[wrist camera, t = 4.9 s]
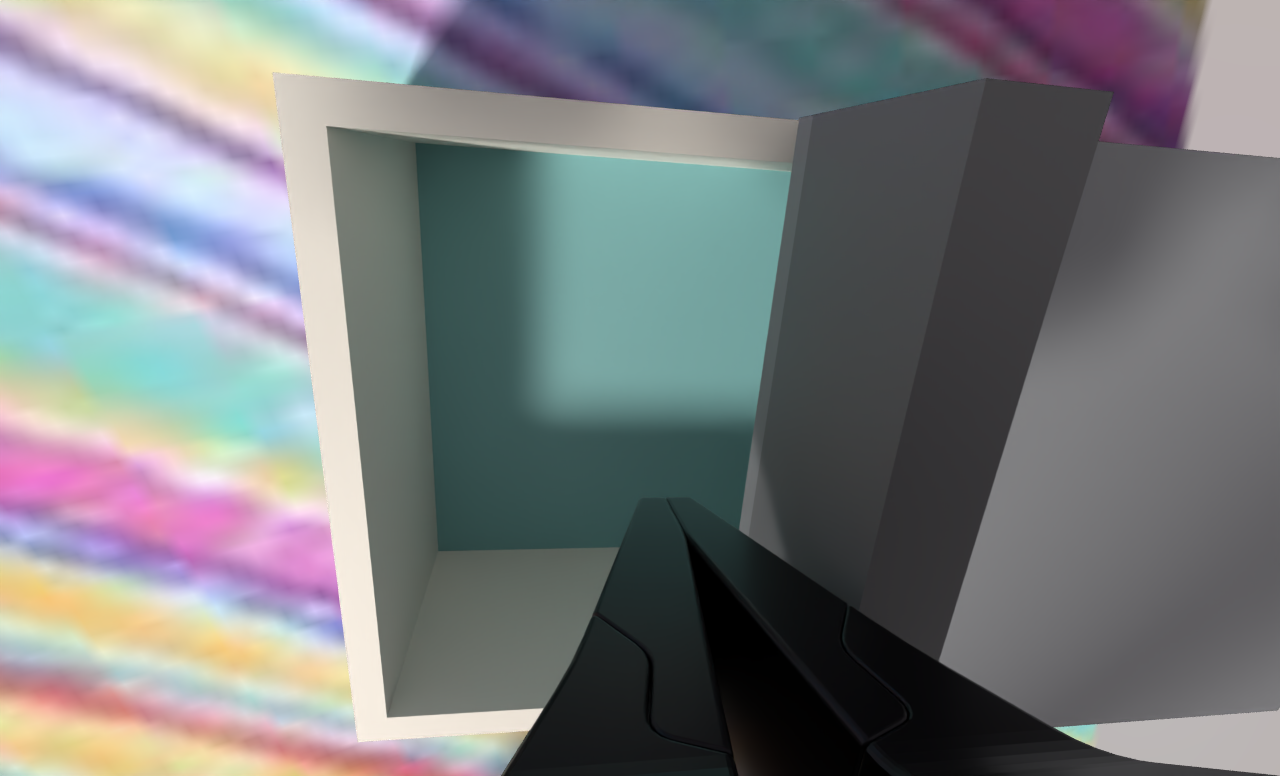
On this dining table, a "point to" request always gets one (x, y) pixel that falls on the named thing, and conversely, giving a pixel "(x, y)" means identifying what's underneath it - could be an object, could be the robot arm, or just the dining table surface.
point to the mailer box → (516, 364)
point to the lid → (1031, 400)
